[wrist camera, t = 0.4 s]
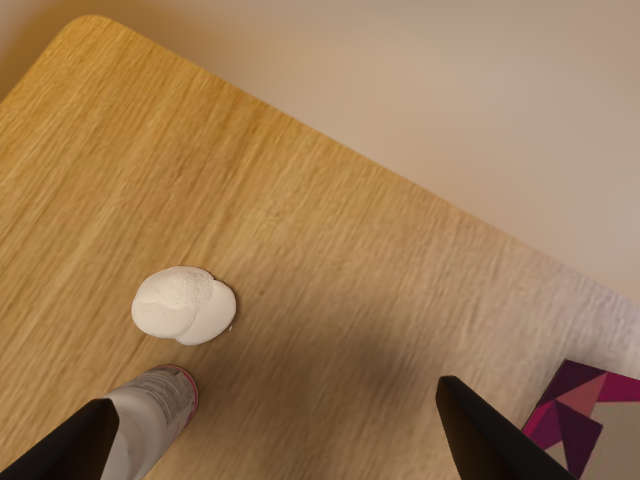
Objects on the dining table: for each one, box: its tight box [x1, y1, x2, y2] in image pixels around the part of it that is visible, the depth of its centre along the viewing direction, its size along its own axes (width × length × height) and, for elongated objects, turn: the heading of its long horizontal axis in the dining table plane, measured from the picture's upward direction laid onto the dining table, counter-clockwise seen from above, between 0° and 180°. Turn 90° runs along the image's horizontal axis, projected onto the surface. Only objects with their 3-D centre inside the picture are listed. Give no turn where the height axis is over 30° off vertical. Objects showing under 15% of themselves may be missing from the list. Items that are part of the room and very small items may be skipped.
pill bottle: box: [100, 365, 198, 480], centre depth 18 cm, size 5×5×8 cm
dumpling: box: [131, 266, 236, 346], centre depth 21 cm, size 7×5×4 cm
